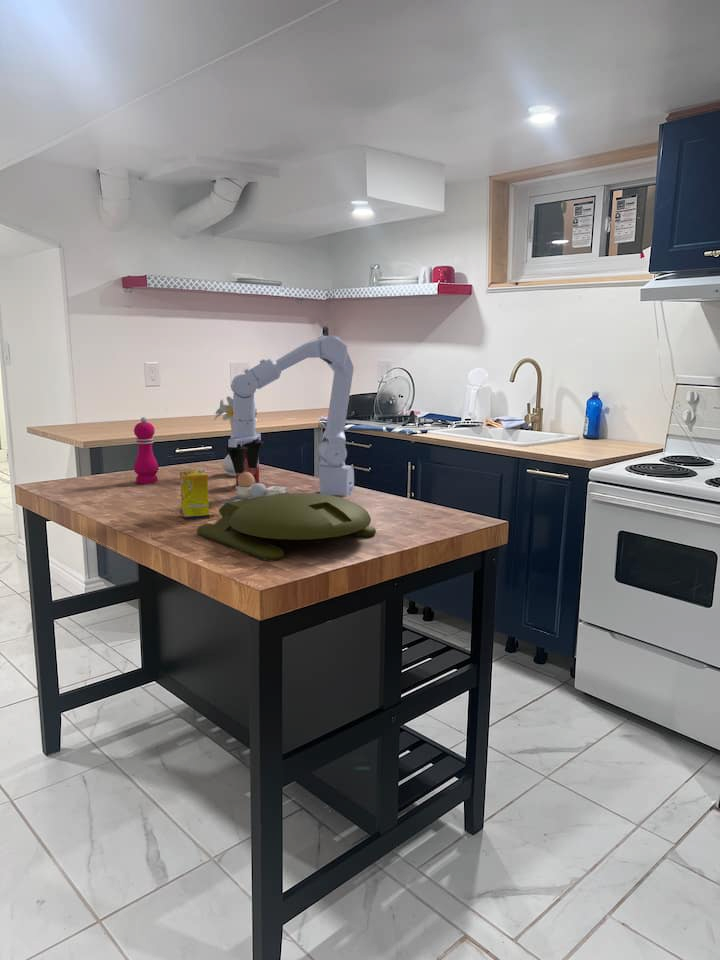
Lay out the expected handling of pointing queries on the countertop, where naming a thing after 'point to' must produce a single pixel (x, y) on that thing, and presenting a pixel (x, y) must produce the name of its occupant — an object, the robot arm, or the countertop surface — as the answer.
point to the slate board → (234, 499)
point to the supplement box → (194, 494)
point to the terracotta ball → (245, 479)
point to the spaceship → (286, 521)
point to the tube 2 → (275, 490)
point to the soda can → (251, 470)
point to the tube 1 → (243, 492)
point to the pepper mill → (145, 453)
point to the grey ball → (258, 490)
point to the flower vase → (228, 409)
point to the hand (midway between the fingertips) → (246, 470)
